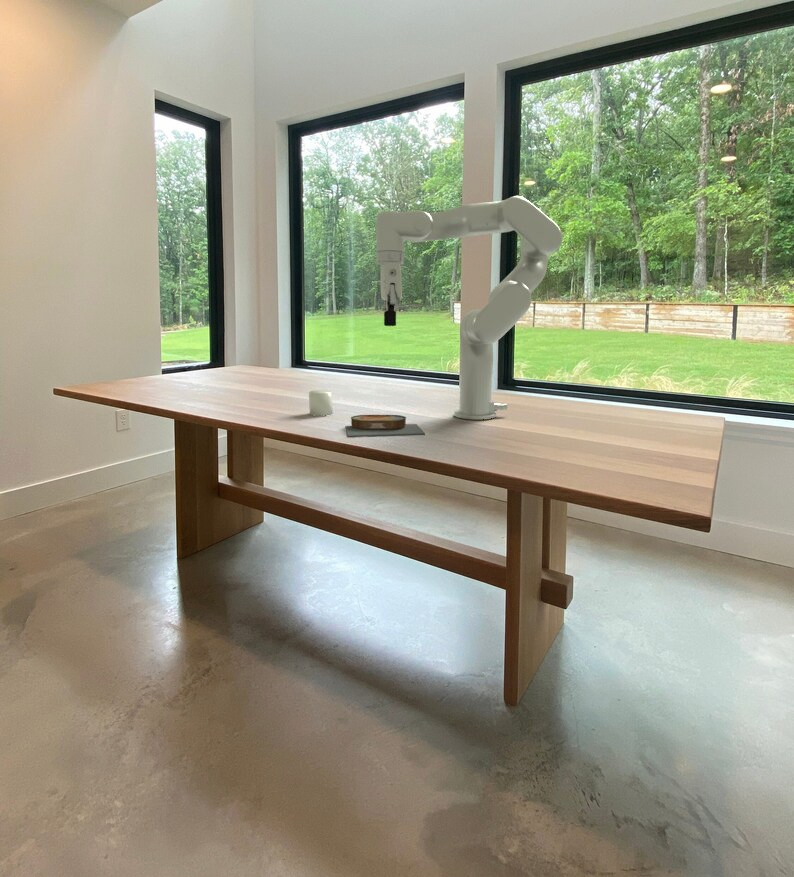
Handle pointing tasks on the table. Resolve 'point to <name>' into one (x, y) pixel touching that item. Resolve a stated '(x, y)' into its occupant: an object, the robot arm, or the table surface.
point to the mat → (385, 431)
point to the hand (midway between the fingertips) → (390, 325)
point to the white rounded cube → (320, 402)
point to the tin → (378, 421)
